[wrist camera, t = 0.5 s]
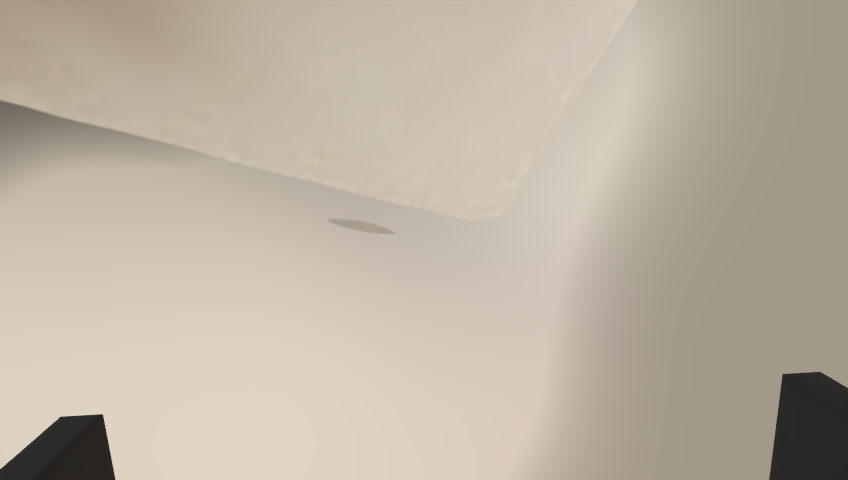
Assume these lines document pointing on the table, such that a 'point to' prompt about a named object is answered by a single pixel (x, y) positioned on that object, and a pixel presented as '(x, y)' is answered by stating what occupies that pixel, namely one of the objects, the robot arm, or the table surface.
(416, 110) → the table surface
